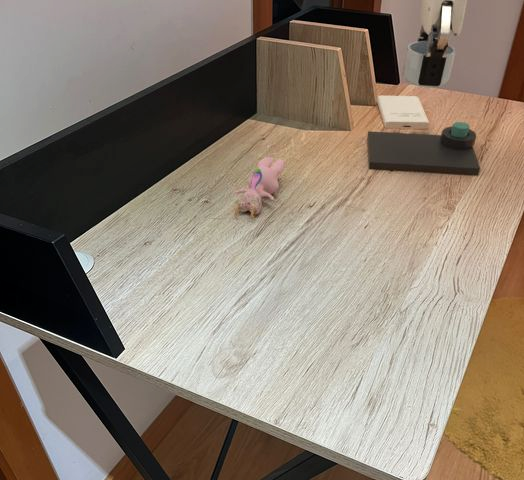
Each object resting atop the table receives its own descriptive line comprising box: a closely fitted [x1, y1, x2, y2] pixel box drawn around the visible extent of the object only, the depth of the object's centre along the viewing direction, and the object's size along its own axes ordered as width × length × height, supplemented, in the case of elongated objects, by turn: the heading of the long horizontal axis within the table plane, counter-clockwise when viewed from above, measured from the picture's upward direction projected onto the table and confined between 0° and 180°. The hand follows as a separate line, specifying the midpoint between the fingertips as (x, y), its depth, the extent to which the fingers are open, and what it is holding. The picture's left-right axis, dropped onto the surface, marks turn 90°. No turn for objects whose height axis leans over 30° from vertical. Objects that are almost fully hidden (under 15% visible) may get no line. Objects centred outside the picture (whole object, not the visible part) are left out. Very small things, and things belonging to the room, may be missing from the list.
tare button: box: [451, 121, 471, 138], centre depth 99 cm, size 3×3×2 cm
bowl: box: [402, 40, 456, 88], centre depth 86 cm, size 7×7×4 cm
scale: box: [366, 125, 481, 177], centre depth 98 cm, size 18×12×3 cm
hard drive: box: [376, 94, 430, 130], centre depth 111 cm, size 2×8×12 cm
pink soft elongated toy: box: [233, 156, 285, 222], centre depth 87 cm, size 6×6×15 cm
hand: (426, 74), depth 87 cm, fingers closed on bowl, 7 cm apart
